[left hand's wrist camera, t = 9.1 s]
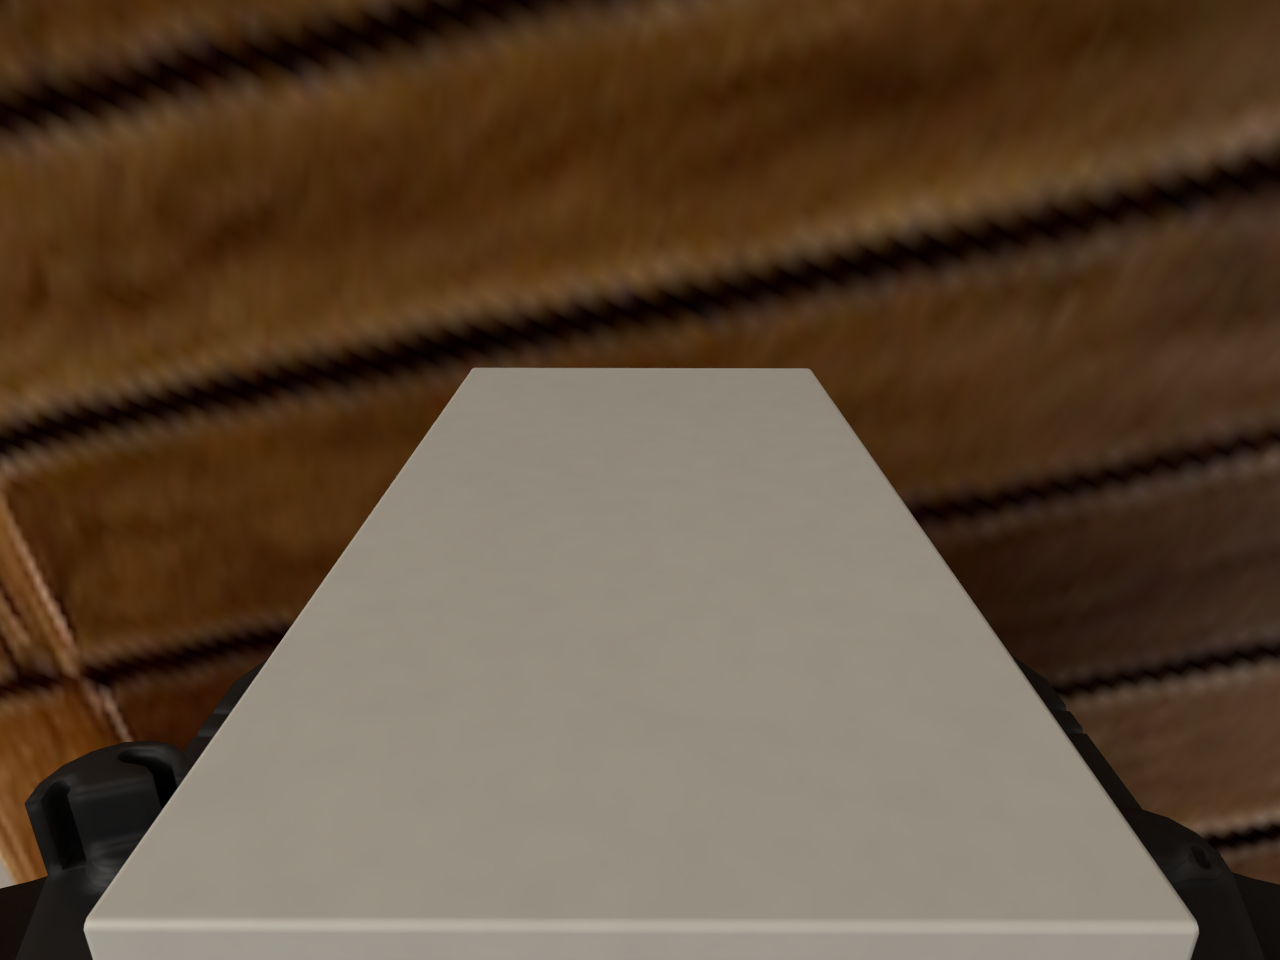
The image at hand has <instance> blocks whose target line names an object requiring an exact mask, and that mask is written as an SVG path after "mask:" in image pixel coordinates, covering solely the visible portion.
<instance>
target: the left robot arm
mask: <svg viewBox="0 0 1280 960" xmlns="http://www.w3.org/2000/svg"><path fill="white" fill-rule="evenodd" d="M1012 658H1013V660H1014V661H1015V662H1016V664H1017V665H1018V667H1019V668H1020V670H1021V671H1022V672H1023V674H1024V675H1025V677H1026V678H1027V680H1028V681H1029V682H1030V684H1031V685H1032V687H1033V688H1034V690H1035V691H1036V692H1037V694H1038V695H1039V697H1040V698H1041V700H1042V701H1043V702H1044V704H1045V705H1046V707H1047V708H1048V710H1049V711H1050V712H1051V714H1052V715H1053V717H1054V718H1055V720H1056V721H1057V722H1058V724H1059V725H1060V727H1061V728H1062V730H1063V731H1064V732H1065V734H1066V735H1067V737H1068V738H1069V740H1070V741H1071V742H1072V744H1073V745H1074V747H1075V748H1076V750H1077V751H1078V752H1079V754H1080V755H1081V757H1082V758H1083V760H1084V761H1085V762H1086V764H1087V765H1088V767H1089V768H1090V770H1091V771H1092V772H1093V774H1094V775H1095V777H1096V778H1097V780H1098V781H1099V782H1100V784H1101V785H1102V787H1103V788H1104V790H1105V791H1106V792H1107V794H1108V795H1109V797H1110V798H1111V800H1112V801H1113V802H1114V804H1115V805H1116V807H1117V808H1118V810H1119V811H1120V812H1121V814H1122V815H1123V817H1124V818H1125V820H1126V821H1127V822H1128V824H1129V825H1130V827H1131V828H1132V830H1133V831H1134V832H1135V834H1136V835H1137V837H1138V838H1139V840H1140V841H1141V842H1142V844H1143V845H1144V847H1145V848H1146V850H1147V851H1148V852H1149V854H1150V855H1151V857H1152V858H1153V860H1154V861H1155V862H1156V864H1157V865H1158V867H1159V868H1160V870H1161V871H1162V872H1163V874H1164V875H1165V877H1166V878H1167V880H1168V881H1169V882H1170V884H1171V885H1172V887H1173V888H1174V890H1175V891H1176V892H1177V894H1178V895H1179V897H1180V898H1181V900H1182V901H1183V902H1184V904H1185V905H1186V907H1187V908H1188V910H1189V911H1190V912H1191V914H1192V915H1193V917H1194V918H1195V920H1196V921H1197V924H1198V928H1199V935H1198V938H1197V941H1196V944H1195V947H1194V950H1193V953H1192V957H1191V960H1280V885H1278V884H1274V883H1269V882H1265V881H1261V880H1257V879H1252V878H1249V877H1246V876H1242V875H1239V874H1236V873H1232V872H1231V871H1230V869H1229V868H1228V866H1227V864H1226V863H1225V861H1224V860H1223V858H1222V857H1221V855H1220V854H1219V852H1218V851H1217V850H1215V849H1214V848H1213V847H1212V846H1211V845H1210V844H1208V843H1207V842H1206V841H1205V840H1204V839H1203V838H1201V837H1200V836H1199V835H1198V834H1197V833H1195V832H1193V831H1192V830H1190V829H1188V828H1186V827H1184V826H1182V825H1181V824H1179V823H1177V822H1175V821H1173V820H1171V819H1170V818H1167V817H1164V816H1161V815H1158V814H1155V813H1151V812H1148V811H1145V810H1142V808H1141V807H1140V806H1139V804H1138V803H1137V801H1136V800H1135V799H1134V797H1133V796H1132V795H1131V793H1130V792H1129V791H1128V789H1127V788H1126V787H1125V785H1124V784H1123V783H1122V781H1121V780H1120V778H1119V777H1118V776H1117V774H1116V773H1115V772H1114V770H1113V769H1112V768H1111V766H1110V765H1109V764H1108V762H1107V761H1106V760H1105V758H1104V757H1103V755H1102V754H1101V753H1100V751H1099V750H1098V749H1097V747H1096V746H1095V745H1094V743H1093V742H1092V741H1091V739H1090V738H1089V737H1088V735H1087V734H1083V732H1082V727H1081V726H1080V724H1079V723H1078V722H1077V720H1076V719H1075V718H1074V716H1073V715H1072V714H1071V712H1067V711H1066V705H1065V704H1064V703H1063V701H1062V700H1061V699H1060V697H1059V696H1058V695H1057V693H1056V692H1055V691H1054V689H1053V688H1052V687H1051V685H1050V684H1049V682H1048V681H1047V680H1046V679H1045V678H1043V677H1042V676H1040V675H1039V674H1038V673H1036V672H1035V671H1033V670H1032V669H1030V668H1029V667H1028V666H1026V665H1025V664H1023V663H1022V662H1020V661H1019V660H1018V659H1016V658H1015V657H1012ZM266 662H267V660H265V661H264V662H262V663H261V664H260V665H258V666H257V667H255V668H254V669H252V670H251V671H250V672H248V673H247V674H245V675H244V676H243V677H241V678H240V679H238V680H237V681H235V682H234V683H233V685H232V686H231V687H230V689H229V690H228V691H227V693H226V694H225V695H224V697H223V698H222V700H221V701H220V702H219V704H218V705H217V706H216V708H215V712H214V714H211V715H210V716H209V717H208V719H207V720H206V721H205V723H204V724H203V725H202V727H201V728H200V729H199V731H198V737H194V738H193V739H192V740H191V742H190V743H189V744H188V746H187V747H186V749H185V750H184V751H183V753H182V752H181V751H180V750H179V749H177V748H176V747H175V746H174V745H171V744H166V743H161V742H156V741H152V740H151V741H137V742H124V743H120V744H116V745H113V746H109V747H106V748H102V749H99V750H95V751H92V752H90V753H88V754H86V755H84V756H82V757H80V758H78V759H76V760H73V761H71V762H69V763H67V764H65V765H63V766H62V767H61V768H59V769H58V770H57V771H55V772H54V773H53V774H51V775H50V776H49V777H47V778H46V779H45V780H43V781H42V782H41V783H39V785H38V786H37V787H36V789H35V790H34V791H33V793H32V794H31V796H30V797H29V798H28V800H27V801H26V802H25V807H26V810H27V813H28V816H29V819H30V822H31V825H32V828H33V831H34V834H35V837H36V840H37V843H38V846H39V849H40V852H41V855H42V858H43V861H44V864H45V867H46V870H47V873H48V875H47V877H43V878H40V879H37V880H33V881H30V882H26V883H22V884H18V885H13V886H9V887H5V888H1V889H0V960H93V958H92V955H91V952H90V948H89V945H88V942H87V939H86V936H85V933H84V924H85V921H86V918H87V916H88V915H89V914H90V912H91V911H92V909H93V908H94V906H95V905H96V904H97V902H98V901H99V899H100V898H101V897H102V895H103V894H104V892H105V891H106V889H107V888H108V887H109V885H110V884H111V882H112V881H113V879H114V878H115V877H116V875H117V874H118V872H119V871H120V870H121V868H122V867H123V865H124V864H125V862H126V861H127V860H128V858H129V857H130V855H131V854H132V852H133V851H134V850H135V848H136V847H137V845H138V844H139V842H140V841H141V840H142V838H143V837H144V835H145V834H146V833H147V831H148V830H149V828H150V827H151V825H152V824H153V823H154V821H155V820H156V818H157V817H158V815H159V814H160V813H161V811H162V810H163V808H164V807H165V806H166V804H167V803H168V801H169V800H170V798H171V797H172V796H173V794H174V793H175V791H176V790H177V788H178V787H179V786H180V784H181V783H182V781H183V780H184V778H185V777H186V776H187V774H188V773H189V771H190V770H191V769H192V767H193V766H194V764H195V763H196V761H197V760H198V759H199V757H200V756H201V754H202V753H203V751H204V750H205V749H206V747H207V746H208V744H209V743H210V741H211V740H212V739H213V737H214V736H215V734H216V733H217V732H218V730H219V729H220V727H221V726H222V724H223V723H224V722H225V720H226V719H227V717H228V716H229V714H230V713H231V712H232V710H233V709H234V707H235V706H236V705H237V703H238V702H239V700H240V699H241V697H242V696H243V695H244V693H245V692H246V690H247V689H248V687H249V686H250V685H251V683H252V682H253V680H254V679H255V677H256V676H257V675H258V673H259V672H260V670H261V669H262V668H263V666H264V665H265V663H266Z"/></svg>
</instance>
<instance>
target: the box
mask: <svg viewBox="0 0 1280 960" xmlns="http://www.w3.org/2000/svg"><path fill="white" fill-rule="evenodd" d="M84 933H85V936H86V939H87V942H88V945H89V948H90V952H91V955H92V958H93V960H1191V957H1192V953H1193V950H1194V947H1195V944H1196V941H1197V938H1198V935H1199V928H1198V924H1197V921H1196V920H1195V918H1194V917H1193V915H1192V914H1191V912H1190V911H1189V910H1188V908H1187V907H1186V905H1185V904H1184V902H1183V901H1182V900H1181V898H1180V897H1179V895H1178V894H1177V892H1176V891H1175V890H1174V888H1173V887H1172V885H1171V884H1170V882H1169V881H1168V880H1167V878H1166V877H1165V875H1164V874H1163V872H1162V871H1161V870H1160V868H1159V867H1158V865H1157V864H1156V862H1155V861H1154V860H1153V858H1152V857H1151V855H1150V854H1149V852H1148V851H1147V850H1146V848H1145V847H1144V845H1143V844H1142V842H1141V841H1140V840H1139V838H1138V837H1137V835H1136V834H1135V832H1134V831H1133V830H1132V828H1131V827H1130V825H1129V824H1128V822H1127V821H1126V820H1125V818H1124V817H1123V815H1122V814H1121V812H1120V811H1119V810H1118V808H1117V807H1116V805H1115V804H1114V802H1113V801H1112V800H1111V798H1110V797H1109V795H1108V794H1107V792H1106V791H1105V790H1104V788H1103V787H1102V785H1101V784H1100V782H1099V781H1098V780H1097V778H1096V777H1095V775H1094V774H1093V772H1092V771H1091V770H1090V768H1089V767H1088V765H1087V764H1086V762H1085V761H1084V760H1083V758H1082V757H1081V755H1080V754H1079V752H1078V751H1077V750H1076V748H1075V747H1074V745H1073V744H1072V742H1071V741H1070V740H1069V738H1068V737H1067V735H1066V734H1065V732H1064V731H1063V730H1062V728H1061V727H1060V725H1059V724H1058V722H1057V721H1056V720H1055V718H1054V717H1053V715H1052V714H1051V712H1050V711H1049V710H1048V708H1047V707H1046V705H1045V704H1044V702H1043V701H1042V700H1041V698H1040V697H1039V695H1038V694H1037V692H1036V691H1035V690H1034V688H1033V687H1032V685H1031V684H1030V682H1029V681H1028V680H1027V678H1026V677H1025V675H1024V674H1023V672H1022V671H1021V670H1020V668H1019V667H1018V665H1017V664H1016V662H1015V661H1014V660H1013V658H1012V657H1011V655H1010V654H1009V652H1008V651H1007V650H1006V648H1005V647H1004V645H1003V644H1002V642H1001V641H1000V640H999V638H998V637H997V635H996V634H995V632H994V631H993V630H992V628H991V627H990V625H989V624H988V622H987V621H986V620H985V618H984V617H983V615H982V614H981V612H980V611H979V610H978V608H977V607H976V605H975V604H974V602H973V601H972V600H971V598H970V597H969V595H968V594H967V592H966V591H965V590H964V588H963V587H962V585H961V584H960V582H959V581H958V580H957V578H956V577H955V575H954V574H953V572H952V571H951V570H950V568H949V567H948V565H947V564H946V562H945V561H944V560H943V558H942V557H941V555H940V554H939V552H938V551H937V550H936V548H935V547H934V545H933V544H932V542H931V541H930V540H929V538H928V537H927V535H926V534H925V532H924V531H923V530H922V528H921V527H920V525H919V524H918V522H917V521H916V520H915V518H914V517H913V515H912V514H911V512H910V511H909V510H908V508H907V507H906V505H905V504H904V502H903V501H902V500H901V498H900V497H899V495H898V494H897V492H896V491H895V490H894V488H893V487H892V485H891V484H890V482H889V481H888V480H887V478H886V477H885V475H884V474H883V472H882V471H881V470H880V468H879V467H878V465H877V464H876V462H875V461H874V460H873V458H872V457H871V455H870V454H869V452H868V451H867V450H866V448H865V447H864V445H863V444H862V442H861V441H860V440H859V438H858V437H857V435H856V434H855V432H854V431H853V430H852V428H851V427H850V425H849V424H848V422H847V421H846V420H845V418H844V417H843V415H842V414H841V412H840V411H839V410H838V408H837V407H836V405H835V404H834V402H833V401H832V400H831V398H830V397H829V395H828V394H827V392H826V391H825V390H824V388H823V387H822V385H821V384H820V382H819V381H818V380H817V378H816V377H815V375H814V374H813V372H812V371H811V370H810V369H764V368H473V369H472V370H471V372H470V373H469V375H468V376H467V377H466V379H465V380H464V382H463V383H462V384H461V386H460V387H459V389H458V390H457V392H456V393H455V394H454V396H453V397H452V399H451V400H450V402H449V403H448V404H447V406H446V407H445V409H444V410H443V411H442V413H441V414H440V416H439V417H438V419H437V420H436V421H435V423H434V424H433V426H432V427H431V429H430V430H429V431H428V433H427V434H426V436H425V437H424V439H423V440H422V441H421V443H420V444H419V446H418V447H417V448H416V450H415V451H414V453H413V454H412V456H411V457H410V458H409V460H408V461H407V463H406V464H405V466H404V467H403V468H402V470H401V471H400V473H399V474H398V475H397V477H396V478H395V480H394V481H393V483H392V484H391V485H390V487H389V488H388V490H387V491H386V493H385V494H384V495H383V497H382V498H381V500H380V501H379V503H378V504H377V505H376V507H375V508H374V510H373V511H372V512H371V514H370V515H369V517H368V518H367V520H366V521H365V522H364V524H363V525H362V527H361V528H360V530H359V531H358V532H357V534H356V535H355V537H354V538H353V540H352V541H351V542H350V544H349V545H348V547H347V548H346V549H345V551H344V552H343V554H342V555H341V557H340V558H339V559H338V561H337V562H336V564H335V565H334V567H333V568H332V569H331V571H330V572H329V574H328V575H327V576H326V578H325V579H324V581H323V582H322V584H321V585H320V586H319V588H318V589H317V591H316V592H315V594H314V595H313V596H312V598H311V599H310V601H309V602H308V604H307V605H306V606H305V608H304V609H303V611H302V612H301V613H300V615H299V616H298V618H297V619H296V621H295V622H294V623H293V625H292V626H291V628H290V629H289V631H288V632H287V633H286V635H285V636H284V638H283V639H282V640H281V642H280V643H279V645H278V646H277V648H276V649H275V650H274V652H273V653H272V655H271V656H270V658H269V659H268V660H267V662H266V663H265V665H264V666H263V668H262V669H261V670H260V672H259V673H258V675H257V676H256V677H255V679H254V680H253V682H252V683H251V685H250V686H249V687H248V689H247V690H246V692H245V693H244V695H243V696H242V697H241V699H240V700H239V702H238V703H237V705H236V706H235V707H234V709H233V710H232V712H231V713H230V714H229V716H228V717H227V719H226V720H225V722H224V723H223V724H222V726H221V727H220V729H219V730H218V732H217V733H216V734H215V736H214V737H213V739H212V740H211V741H210V743H209V744H208V746H207V747H206V749H205V750H204V751H203V753H202V754H201V756H200V757H199V759H198V760H197V761H196V763H195V764H194V766H193V767H192V769H191V770H190V771H189V773H188V774H187V776H186V777H185V778H184V780H183V781H182V783H181V784H180V786H179V787H178V788H177V790H176V791H175V793H174V794H173V796H172V797H171V798H170V800H169V801H168V803H167V804H166V806H165V807H164V808H163V810H162V811H161V813H160V814H159V815H158V817H157V818H156V820H155V821H154V823H153V824H152V825H151V827H150V828H149V830H148V831H147V833H146V834H145V835H144V837H143V838H142V840H141V841H140V842H139V844H138V845H137V847H136V848H135V850H134V851H133V852H132V854H131V855H130V857H129V858H128V860H127V861H126V862H125V864H124V865H123V867H122V868H121V870H120V871H119V872H118V874H117V875H116V877H115V878H114V879H113V881H112V882H111V884H110V885H109V887H108V888H107V889H106V891H105V892H104V894H103V895H102V897H101V898H100V899H99V901H98V902H97V904H96V905H95V906H94V908H93V909H92V911H91V912H90V914H89V915H88V916H87V918H86V921H85V924H84Z"/></svg>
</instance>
